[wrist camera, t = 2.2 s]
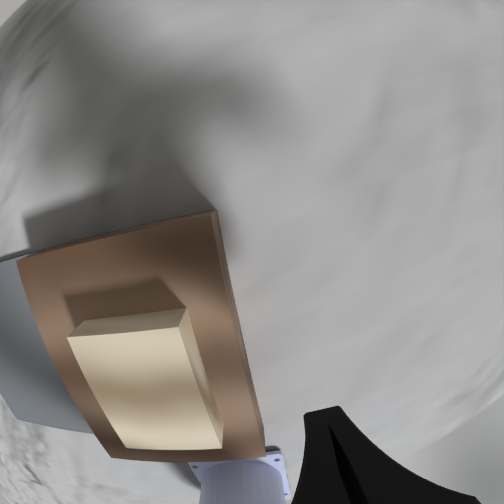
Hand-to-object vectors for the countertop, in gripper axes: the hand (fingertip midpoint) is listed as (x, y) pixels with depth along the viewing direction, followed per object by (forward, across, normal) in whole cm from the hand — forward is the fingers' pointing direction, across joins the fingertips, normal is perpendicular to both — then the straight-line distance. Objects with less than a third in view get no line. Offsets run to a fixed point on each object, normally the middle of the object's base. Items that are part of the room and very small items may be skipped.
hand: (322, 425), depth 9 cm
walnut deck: (+8, +9, 0) cm, 12 cm away
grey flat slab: (+8, +22, 0) cm, 24 cm away
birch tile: (+5, +8, 0) cm, 9 cm away
